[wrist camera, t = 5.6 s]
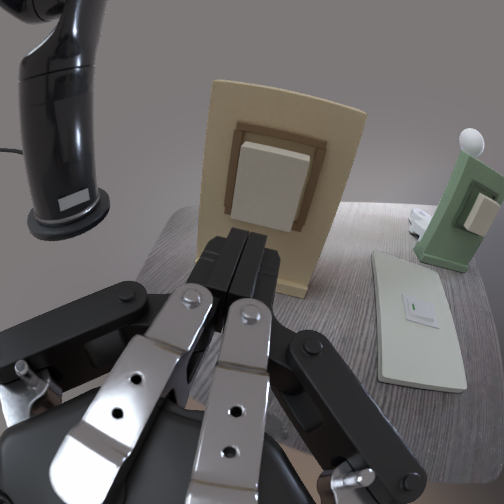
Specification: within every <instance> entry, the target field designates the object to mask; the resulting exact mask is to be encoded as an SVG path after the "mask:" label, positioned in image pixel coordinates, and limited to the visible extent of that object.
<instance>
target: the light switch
mask: <svg viewBox="0 0 504 504" xmlns="http://www.w3.org/2000/svg"><path fill="white" fill-rule="evenodd" d="M371 257H372V265H373V274H374V285H375V297H376V312H377V334H378V380H379V381H381V382H386V383H391V384H397V385H403V386H409V387H415V388H422V389H429V390H437V391H445V392H454V393H462V392H463V391H464V390H466V389H467V384H466V377H465V371H464V366H463V361H462V356H461V351H460V347H459V342H458V338H457V334H456V330H455V326H454V322H453V319H452V315H451V312H450V308H449V305H448V302H447V299H446V295H445V292H444V289H443V286H442V283H441V281H440V278H439V275H438V273H437V272H435V271H433V270H430V269H427V268H425V267H422V266H419V265H417V264H414V263H411V262H409V261H406V260H403V259H400V258H397V257H395V256H392V255H389V254H386V253H383V252H380V251H378V250H374V251H373V253H372V254H371Z"/></svg>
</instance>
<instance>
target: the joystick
mask: <svg viewBox="0 0 504 504" xmlns="http://www.w3.org/2000/svg"><path fill="white" fill-rule="evenodd" d="M459 142H460V146H461V150H462V151H464V152H466V153H468V154H469V155H471V156H473V157H474V158H475V157H476V156H478V155H480V154H481V153H482V152H483V149H484V140H483V137H482V136H481V134H480V133H479V132H478V131H477V130H475V129H472V128H468V129H465V130H463V131H462V133H461V135H460V139H459ZM439 203H440V202H439ZM438 205H439V204H438ZM437 207H438V206H437ZM436 209H437V208H436ZM435 211H436V210H435ZM434 213H435V212H434ZM433 215H434V214H433ZM432 217H433V216H432ZM432 217H431V216H429V215H428V214H427V213H426V212H424V211H423V210H421V209H418V208H413V209H412V211H411V213H410V215H409V217H408V218H409V220H410V223H411V224H412V225H411V227H410V232H412V233H414V234H418V235H419V236H420V237H419V239H418V242H420V241H421V239H422V237H423V235H424V233H425V231H426V229H427V227H428V225H429V223H430V221H431V219H432Z"/></svg>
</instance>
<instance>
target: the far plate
mask: <svg viewBox="0 0 504 504" xmlns="http://www.w3.org/2000/svg"><path fill="white" fill-rule="evenodd" d="M479 193H482V194H483V195H485V196H487V197H489V198H490V199H492V200H494V201H496V202H497V203H498V204H499V205H500V206H501V204H502V202H503V200H504V176H502V175H501V174H499V173H498V172H496V171H495V170H493V169H492V168H490V167H489V166H487V165H486V164H484V163H482V162H481V161H479V160H478V159H476V158H474V157H473V156H471V155H469V154H468V153H466V152H464V151H462V150H461V152H460V155H459V157H458V160H457V163H456V165H455V168H454V170H453V173H452V175H451V178H450V180H449V183H448V185H447V187H446V190H445V192H444V194H443V196H442V198H441V200H440V203H439V205H438V207H437V209H436V211H435V213H434V215H433V217H432V219H431V221H430V223H429V225H428V227H427V229H426V231H425V233H424V235H423V237H422V239H421V241H420V242H419V243H416V245H415V247H414V251H415V252H416V254H417V256H418V258H419V260H420V262H423V263H427V264H431V265H435V266H439V267H443V268H447V269H451V270H455V271H459V272H463V273H465V272H466V271H467V269H468V268H469V267H468V264H469V262H470V260H471V259H472V257H473V256H474V254H475V252H476V251H477V249H478V247H479V246H480V244H481V242H482V240H483V238H484V237H483V236H480V235H478V234H476V233H473V232H471V231H468V230H467V229H466V228H465V226H464V224H465V222H466V220H467V218H468V216H469V214H470V212H471V210H472V208H473V206H474V204H475V201H476V199H477V197H478V195H479Z"/></svg>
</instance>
